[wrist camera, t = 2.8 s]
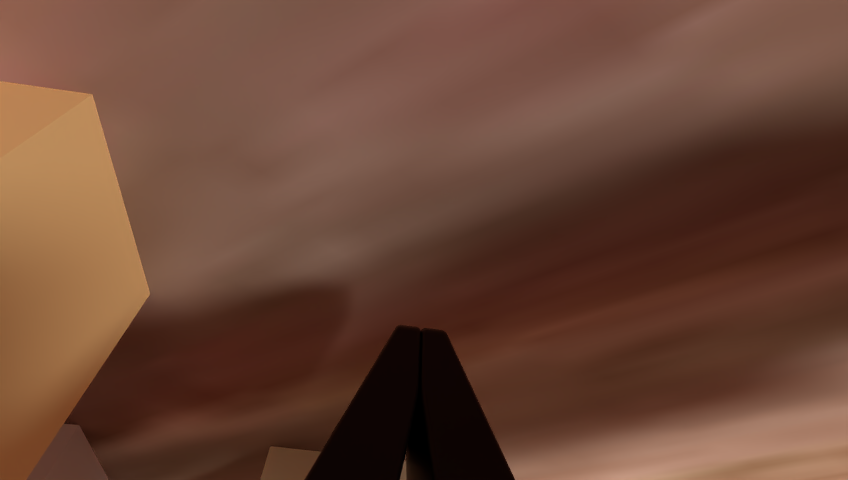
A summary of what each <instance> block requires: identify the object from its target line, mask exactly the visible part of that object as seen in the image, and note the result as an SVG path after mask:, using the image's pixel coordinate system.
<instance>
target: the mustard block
mask: <svg viewBox="0 0 848 480" xmlns="http://www.w3.org/2000/svg"><path fill="white" fill-rule="evenodd" d="M149 295H150V292H149V288H148V285H147V281H146V278H145V274H144V271H143V267H142V264H141V261H140V257H139V254H138V250H137V247H136V243H135V240H134V236H133V233H132V230H131V226H130V223H129V219H128V216H127V212H126V209H125V205H124V202H123V199H122V195H121V192H120V188H119V185H118V181H117V178H116V174H115V171H114V168H113V164H112V161H111V157H110V154H109V150H108V147H107V144H106V140H105V137H104V133H103V130H102V126H101V123H100V119H99V116H98V113H97V109H96V106H95V102H94V99H93V95H92V94H86V93H79V92H72V91H65V90H58V89H51V88H44V87H37V86H30V85H23V84H16V83H9V82H2V81H0V480H26V479H27V478H28V476H29V475H30V473H31V472H32V470H33V469H34V467H35V466H36V464H37V463H38V461H39V460H40V458H41V457H42V455H43V454H44V452H45V451H46V449H47V448H48V446H49V445H50V443H51V442H52V440H53V439H54V437H55V436H56V434H57V433H58V431H59V430H60V428H61V427H62V425H63V424H64V422H65V421H66V419H67V418H68V416H69V415H70V413H71V412H72V410H73V409H74V407H75V406H76V404H77V403H78V401H79V400H80V398H81V397H82V395H83V394H84V392H85V391H86V389H87V388H88V386H89V385H90V383H91V382H92V381H93V379H94V378H95V376H96V375H97V373H98V372H99V370H100V369H101V367H102V366H103V364H104V363H105V361H106V360H107V358H108V357H109V355H110V354H111V352H112V351H113V349H114V348H115V346H116V345H117V343H118V342H119V340H120V339H121V337H122V336H123V334H124V333H125V331H126V330H127V328H128V327H129V325H130V324H131V322H132V321H133V319H134V318H135V316H136V315H137V313H138V312H139V310H140V309H141V307H142V306H143V304H144V303H145V301H146V300H147V298H148V297H149Z"/></svg>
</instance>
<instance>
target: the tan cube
mask: <svg viewBox="0 0 848 480" xmlns="http://www.w3.org/2000/svg"><path fill="white" fill-rule="evenodd" d="M320 453H321V452H319V451H310V450H301V449H292V448H283V447H274V446H270V449H269V452H268V455H267V459H266V462H265V465H264V469H263V472H262V475H261V478H260V480H304V479H305V478H306V476H307V474H308V473H309V471H310V469H311V468H312V466H313V464H314V463H315V461H316V459H317V458H318V456H319V454H320ZM400 480H406V461H404V464H403V468H402V473H401V477H400Z"/></svg>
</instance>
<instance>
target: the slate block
mask: <svg viewBox="0 0 848 480" xmlns="http://www.w3.org/2000/svg"><path fill="white" fill-rule="evenodd" d="M26 480H109V479H108V477H107V476H106V474H105V472H104V470H103V468H102V466H101V464H100V463H99V461H98V459H97V457H96V455H95V453H94V451H93V450H92V448H91V446H90V444H89V442H88V440H87V438H86V437H85V435H84V433H83V431H82V429H81V427H80V425H73V424H63V425H62V427H61V428H60V430H59V431H58V433H57V434H56V436H55V437H54V439H53V440H52V442H51V443H50V445H49V446H48V448H47V449H46V451H45V452H44V454H43V455H42V457H41V458H40V460H39V461H38V463H37V464H36V466H35V467H34V469H33V470H32V472H31V473H30V475H29V476H28V478H27V479H26Z"/></svg>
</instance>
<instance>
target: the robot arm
mask: <svg viewBox="0 0 848 480" xmlns="http://www.w3.org/2000/svg"><path fill="white" fill-rule="evenodd" d="M405 454H406V480H515V479H514V476H513V474H512V472H511V470H510V468H509V466H508V464H507V462H506V459H505V457H504V455H503V453H502V451H501V449H500V447H499V444H498V442H497V440H496V438H495V436H494V434H493V432H492V429H491V427H490V425H489V423H488V421H487V419H486V417H485V414H484V412H483V410H482V408H481V406H480V404H479V402H478V400H477V397H476V395H475V393H474V391H473V389H472V387H471V385H470V382H469V380H468V378H467V376H466V374H465V372H464V370H463V367H462V365H461V363H460V361H459V359H458V357H457V355H456V352H455V350H454V348H453V346H452V344H451V342H450V340H449V337H448V335H447V334H446V332H444V331H443V330H437V329H429V328H424V329H422V330H420V329H419V328H418V327H412V326H404V325H399V326H397V327H396V328H395V330H394V331H393V333H392V335H391V336H390V338H389V340H388V341H387V343H386V345H385V346H384V348H383V350H382V351H381V353H380V355H379V356H378V358H377V360H376V361H375V363H374V365H373V366H372V368H371V370H370V371H369V373H368V375H367V376H366V378H365V380H364V381H363V383H362V385H361V386H360V388H359V390H358V391H357V393H356V395H355V396H354V398H353V400H352V401H351V403H350V405H349V406H348V408H347V410H346V411H345V413H344V415H343V416H342V418H341V420H340V421H339V423H338V425H337V426H336V428H335V430H334V431H333V433H332V435H331V436H330V438H329V439H328V441H327V443H326V444H325V446H324V448H323V449H322V451H321V453H320V454H319V456H318V458H317V459H316V461H315V463H314V464H313V466H312V468H311V469H310V471H309V473H308V474H307V476H306V478H305V479H304V480H400V477H401V473H402V468H403V464H404V459H405Z"/></svg>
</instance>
